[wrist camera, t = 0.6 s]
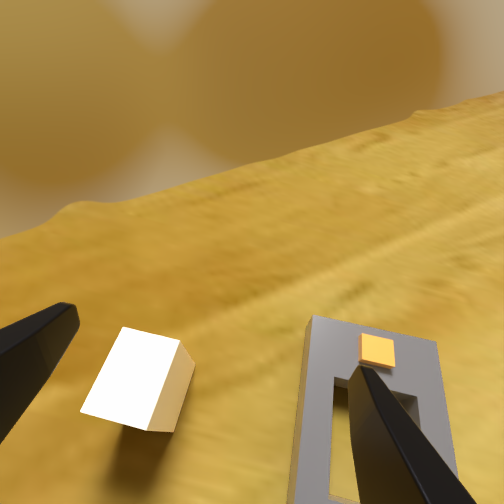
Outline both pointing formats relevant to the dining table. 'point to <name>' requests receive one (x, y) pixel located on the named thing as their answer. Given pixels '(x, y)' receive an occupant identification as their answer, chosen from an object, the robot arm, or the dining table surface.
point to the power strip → (338, 374)
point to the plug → (142, 382)
